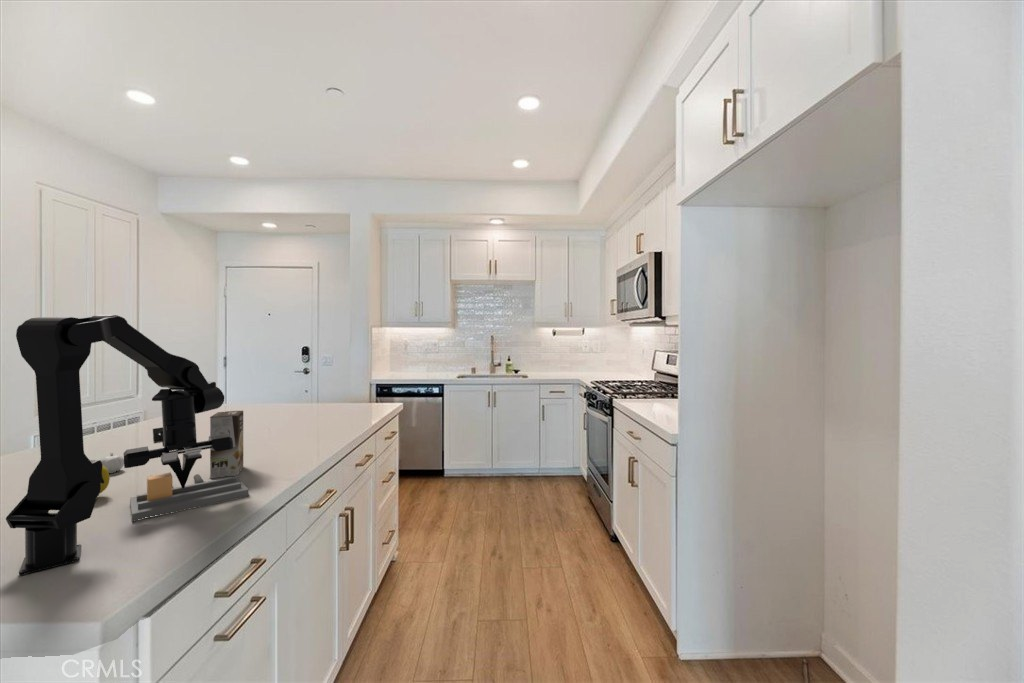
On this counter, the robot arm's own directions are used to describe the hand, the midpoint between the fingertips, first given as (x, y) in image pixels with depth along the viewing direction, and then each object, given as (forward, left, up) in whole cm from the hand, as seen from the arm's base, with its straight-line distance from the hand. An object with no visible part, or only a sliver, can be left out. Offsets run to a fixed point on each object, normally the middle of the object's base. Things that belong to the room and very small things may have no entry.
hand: (182, 487), depth 94 cm
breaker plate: (0, -1, -3) cm, 3 cm away
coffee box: (+18, -11, -3) cm, 22 cm away
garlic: (+40, +12, -3) cm, 42 cm away
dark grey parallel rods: (+11, -1, -3) cm, 12 cm away
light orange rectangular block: (0, +4, -2) cm, 4 cm away
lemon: (+17, +15, -3) cm, 23 cm away
